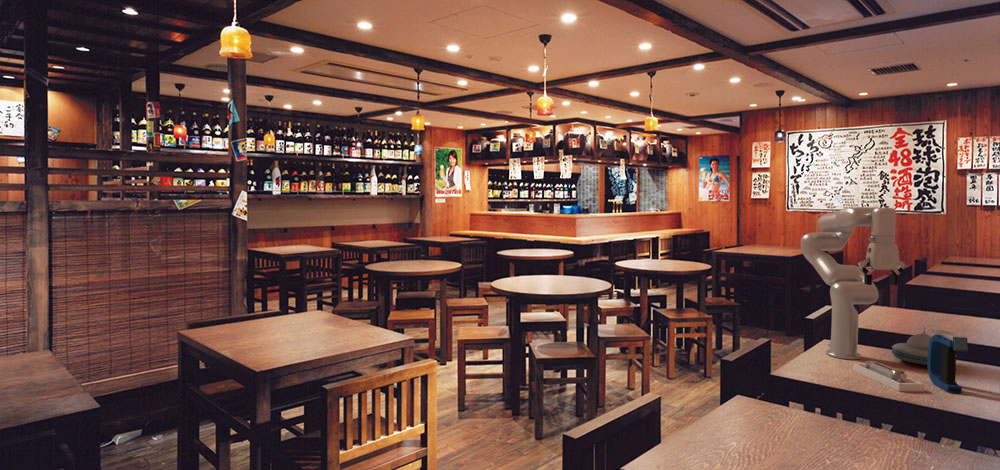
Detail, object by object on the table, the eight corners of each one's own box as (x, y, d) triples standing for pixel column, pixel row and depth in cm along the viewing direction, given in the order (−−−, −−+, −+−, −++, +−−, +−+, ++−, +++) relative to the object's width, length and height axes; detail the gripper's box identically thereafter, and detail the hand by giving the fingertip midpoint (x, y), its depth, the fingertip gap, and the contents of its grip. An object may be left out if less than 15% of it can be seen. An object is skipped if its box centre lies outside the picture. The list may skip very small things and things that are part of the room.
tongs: (909, 386, 187) (910, 373, 186) (899, 386, 187) (899, 373, 186) (874, 371, 204) (875, 359, 204) (865, 371, 204) (865, 359, 204)
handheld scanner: (950, 394, 180) (954, 337, 179) (924, 379, 196) (928, 326, 195) (966, 396, 179) (970, 338, 178) (939, 381, 195) (943, 327, 193)
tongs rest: (853, 370, 207) (853, 363, 207) (875, 370, 207) (875, 363, 207) (898, 391, 183) (899, 383, 183) (923, 391, 183) (924, 383, 183)
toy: (970, 371, 206) (972, 333, 205) (916, 371, 206) (917, 332, 205) (928, 356, 226) (930, 321, 226) (879, 356, 227) (881, 321, 226)
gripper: (866, 240, 201) (864, 286, 202) (912, 241, 201) (910, 286, 202) (853, 239, 208) (851, 283, 209) (897, 239, 208) (895, 283, 209)
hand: (880, 284), depth 205 cm, fingers open, 9 cm apart
